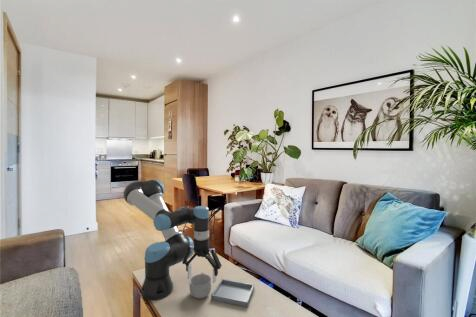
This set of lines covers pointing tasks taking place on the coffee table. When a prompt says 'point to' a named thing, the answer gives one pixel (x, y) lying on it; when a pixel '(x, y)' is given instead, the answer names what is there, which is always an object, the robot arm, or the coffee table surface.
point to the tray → (233, 292)
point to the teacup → (200, 285)
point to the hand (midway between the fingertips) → (201, 279)
